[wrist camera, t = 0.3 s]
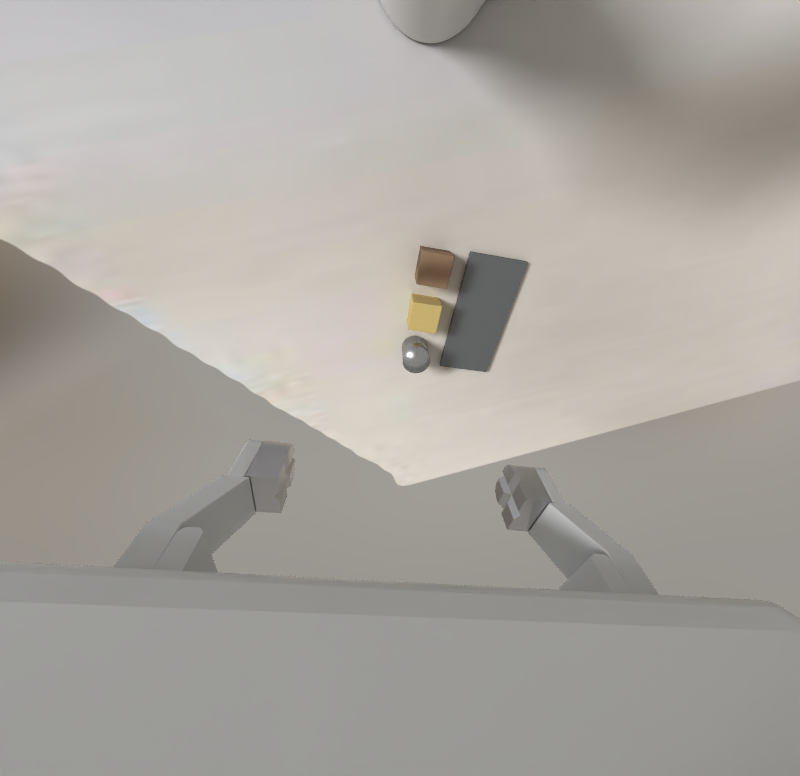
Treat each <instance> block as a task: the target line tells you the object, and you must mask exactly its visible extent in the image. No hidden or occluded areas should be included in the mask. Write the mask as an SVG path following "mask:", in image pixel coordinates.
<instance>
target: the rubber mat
mask: <svg viewBox="0 0 800 776" xmlns="http://www.w3.org/2000/svg"><path fill="white" fill-rule="evenodd" d="M526 265H527V262H526V261H521V260H516V259H510V258H504V257H499V256H493V255H488V254H482V253H476V252H471V251H470V254H469V258H468V261H467V265H466V269H465V272H464V276H463V280H462V284H461V287H460V291H459V295H458V298H457V302H456V306H455V309H454V313H453V317H452V321H451V324H450V328H449V332H448V335H447V339H446V343H445V346H444V350H443V354H442V357H441V361H440V366H445V367H453V368H460V369H468V370H475V371H483V372H486V371H487V368H488V366H489V363H490V360H491V358H492V355H493V352H494V350H495V347H496V345H497V342H498V339H499V337H500V334H501V331H502V329H503V326H504V323H505V321H506V318H507V315H508V313H509V310H510V307H511V305H512V302H513V299H514V297H515V294H516V292H517V289H518V286H519V284H520V281H521V278H522V276H523V273H524V270H525V268H526Z"/></svg>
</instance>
